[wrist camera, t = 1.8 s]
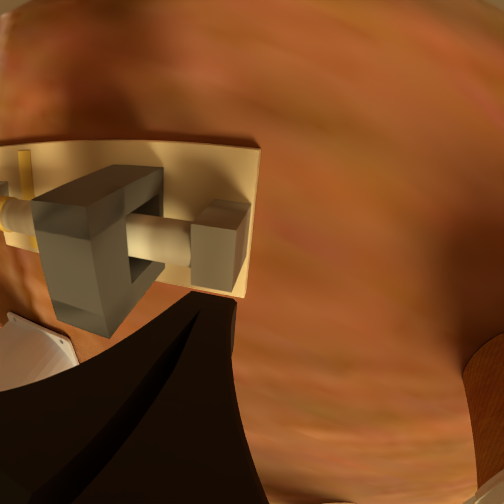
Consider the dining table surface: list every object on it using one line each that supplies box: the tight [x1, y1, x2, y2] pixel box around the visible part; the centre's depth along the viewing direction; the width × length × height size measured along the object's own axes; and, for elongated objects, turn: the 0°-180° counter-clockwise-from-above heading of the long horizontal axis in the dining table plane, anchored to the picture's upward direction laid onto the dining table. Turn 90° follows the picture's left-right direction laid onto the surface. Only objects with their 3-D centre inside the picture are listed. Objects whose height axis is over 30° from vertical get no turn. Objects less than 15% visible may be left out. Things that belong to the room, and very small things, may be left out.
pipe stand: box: [0, 140, 261, 298], centre depth 15 cm, size 20×8×4 cm, turn 85°
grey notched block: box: [30, 164, 165, 339], centre depth 13 cm, size 3×6×6 cm, turn 175°
